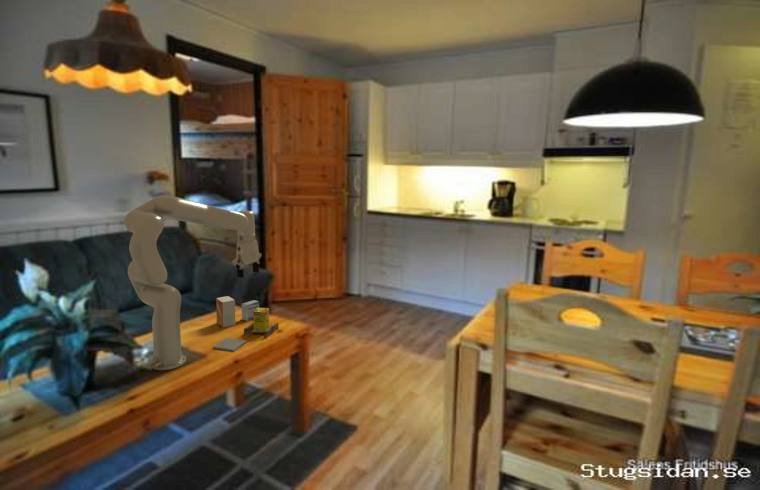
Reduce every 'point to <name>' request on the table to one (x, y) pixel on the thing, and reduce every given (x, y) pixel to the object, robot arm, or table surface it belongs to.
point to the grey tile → (230, 344)
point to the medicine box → (249, 309)
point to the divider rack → (266, 332)
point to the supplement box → (261, 320)
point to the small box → (225, 311)
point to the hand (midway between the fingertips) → (248, 274)
